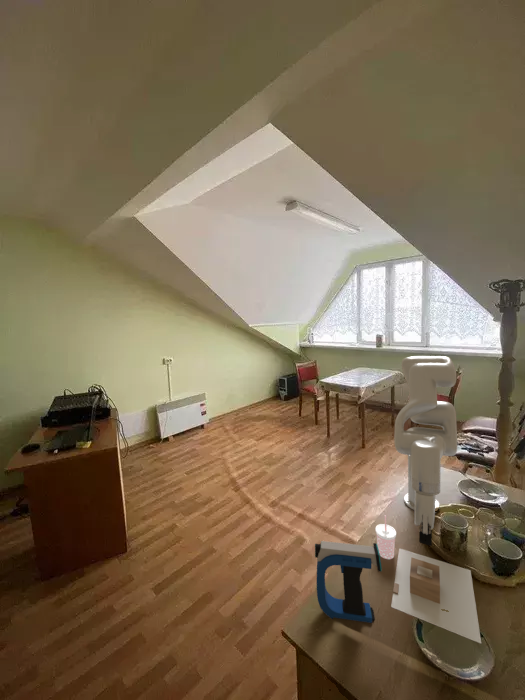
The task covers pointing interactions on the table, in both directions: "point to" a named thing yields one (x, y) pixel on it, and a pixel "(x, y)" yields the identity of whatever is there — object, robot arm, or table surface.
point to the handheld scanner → (346, 578)
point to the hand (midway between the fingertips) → (425, 542)
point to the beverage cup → (385, 540)
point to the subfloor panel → (452, 597)
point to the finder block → (425, 580)
